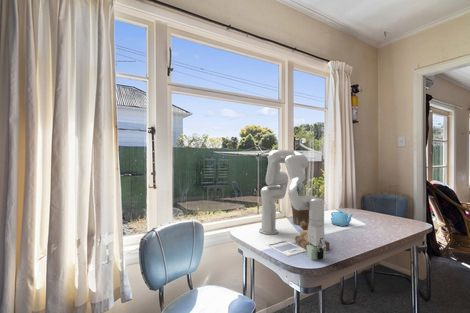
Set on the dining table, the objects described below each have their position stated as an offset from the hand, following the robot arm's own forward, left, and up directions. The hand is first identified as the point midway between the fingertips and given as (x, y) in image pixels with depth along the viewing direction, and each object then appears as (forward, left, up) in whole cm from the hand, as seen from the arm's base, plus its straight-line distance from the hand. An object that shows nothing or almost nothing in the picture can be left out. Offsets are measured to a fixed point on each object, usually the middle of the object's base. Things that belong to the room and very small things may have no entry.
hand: (315, 255), depth 130 cm
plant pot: (-60, +22, -1) cm, 64 cm away
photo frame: (-15, -10, -2) cm, 18 cm away
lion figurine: (-32, +15, -1) cm, 36 cm away
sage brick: (0, 0, -1) cm, 1 cm away
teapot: (-52, +52, -1) cm, 74 cm away
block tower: (-15, +6, -1) cm, 16 cm away
